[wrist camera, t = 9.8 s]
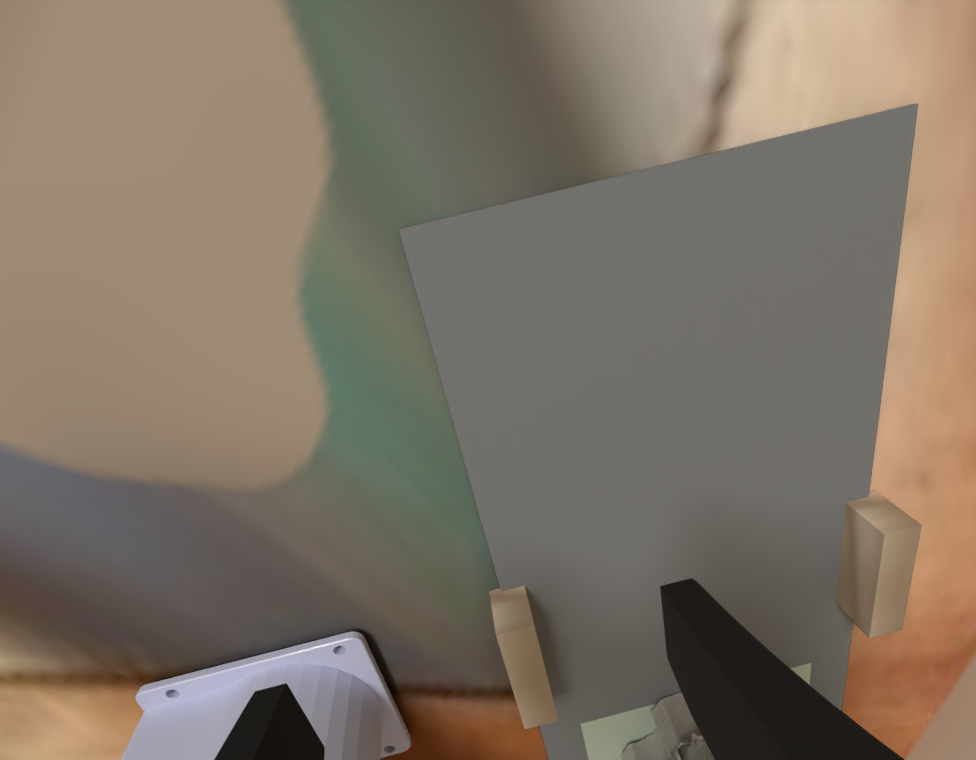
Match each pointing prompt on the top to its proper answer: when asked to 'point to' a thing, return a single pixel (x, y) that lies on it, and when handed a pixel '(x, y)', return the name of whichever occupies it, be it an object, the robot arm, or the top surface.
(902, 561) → the lane walls
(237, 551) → the top surface
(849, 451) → the lane mat
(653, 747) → the egg carton
